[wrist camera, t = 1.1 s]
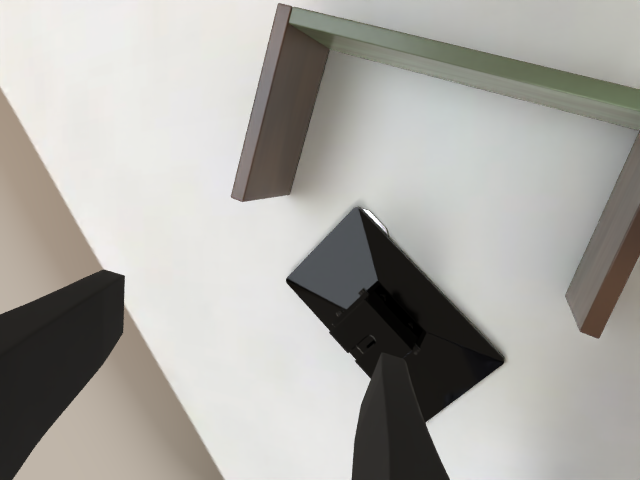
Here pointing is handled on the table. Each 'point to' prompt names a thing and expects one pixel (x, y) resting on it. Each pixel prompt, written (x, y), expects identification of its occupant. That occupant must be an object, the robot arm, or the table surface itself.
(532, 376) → the table surface
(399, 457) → the robot arm
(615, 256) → the stall
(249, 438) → the table surface
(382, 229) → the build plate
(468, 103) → the table surface
